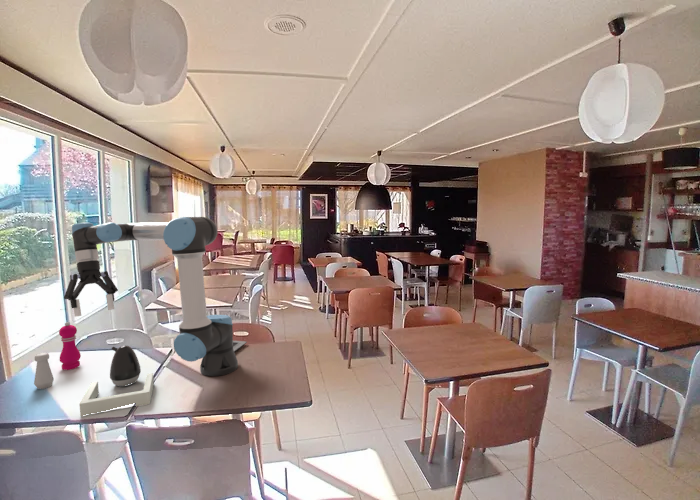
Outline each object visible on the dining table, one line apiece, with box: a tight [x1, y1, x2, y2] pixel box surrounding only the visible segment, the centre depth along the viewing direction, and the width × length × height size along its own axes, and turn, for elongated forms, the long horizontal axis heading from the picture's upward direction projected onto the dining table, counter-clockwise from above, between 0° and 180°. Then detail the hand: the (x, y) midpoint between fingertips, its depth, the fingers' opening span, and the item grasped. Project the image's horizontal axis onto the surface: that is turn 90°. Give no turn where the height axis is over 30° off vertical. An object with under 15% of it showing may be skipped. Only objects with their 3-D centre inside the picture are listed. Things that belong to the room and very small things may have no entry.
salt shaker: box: [33, 352, 54, 390], centre depth 139 cm, size 6×6×13 cm
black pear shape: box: [109, 345, 142, 387], centre depth 142 cm, size 10×10×15 cm
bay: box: [79, 372, 155, 417], centre depth 131 cm, size 16×20×4 cm
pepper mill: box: [58, 321, 82, 371], centre depth 156 cm, size 7×7×20 cm
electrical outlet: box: [233, 340, 248, 353], centre depth 178 cm, size 13×10×2 cm
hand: (95, 312), depth 149 cm, fingers open, 13 cm apart
